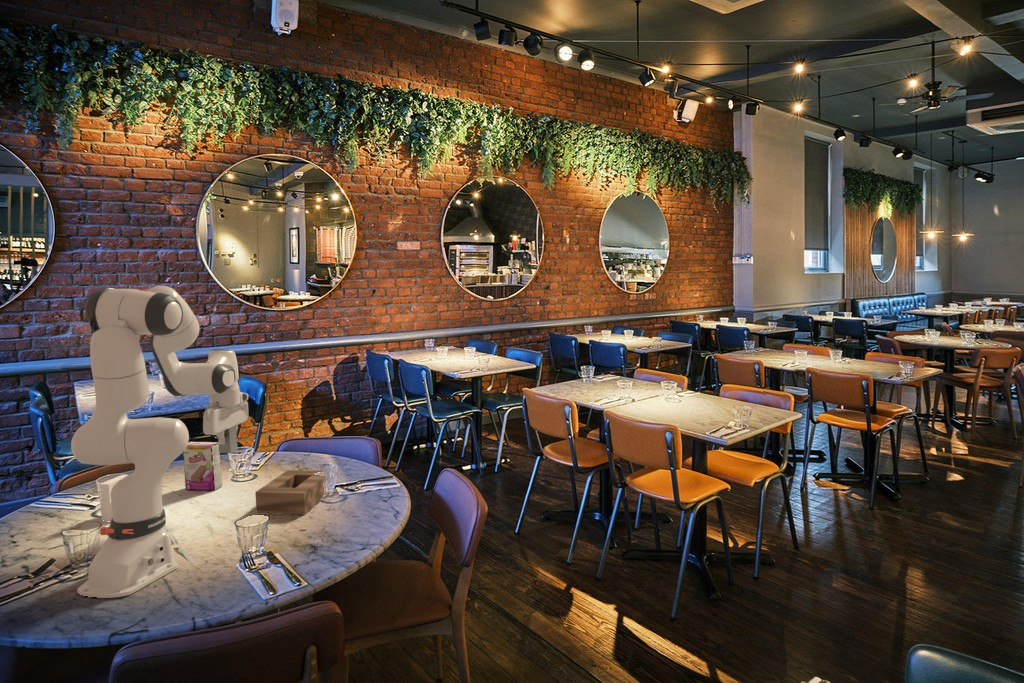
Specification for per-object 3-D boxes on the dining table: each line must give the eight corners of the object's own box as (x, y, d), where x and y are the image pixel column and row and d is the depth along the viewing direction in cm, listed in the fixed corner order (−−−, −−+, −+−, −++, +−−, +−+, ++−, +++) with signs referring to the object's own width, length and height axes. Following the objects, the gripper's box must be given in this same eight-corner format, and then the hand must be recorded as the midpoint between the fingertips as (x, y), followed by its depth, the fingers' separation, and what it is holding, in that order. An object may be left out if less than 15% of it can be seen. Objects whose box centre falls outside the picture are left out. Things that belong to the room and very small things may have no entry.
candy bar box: (184, 490, 218) (181, 445, 216) (193, 485, 223) (190, 441, 221) (215, 491, 217) (211, 445, 215) (223, 486, 222) (219, 441, 220)
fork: (192, 570, 159) (192, 563, 159) (161, 543, 176) (161, 537, 176) (205, 566, 162) (205, 559, 161) (174, 539, 178) (173, 533, 178)
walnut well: (305, 514, 194) (304, 493, 193) (256, 513, 196) (255, 492, 195) (332, 490, 216) (331, 470, 215) (288, 489, 217) (287, 469, 217)
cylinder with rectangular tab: (119, 522, 190) (116, 485, 189) (94, 521, 192) (91, 483, 191) (142, 511, 199) (139, 475, 198) (118, 510, 201) (115, 474, 199)
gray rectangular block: (230, 453, 197) (229, 428, 197) (218, 452, 198) (217, 428, 197) (237, 449, 201) (236, 425, 201) (226, 449, 202) (224, 425, 201)
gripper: (215, 406, 187) (218, 450, 189) (250, 393, 208) (253, 434, 209) (195, 405, 188) (199, 450, 189) (233, 393, 208) (235, 433, 210)
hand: (227, 441), depth 199 cm, fingers closed on gray rectangular block, 4 cm apart
